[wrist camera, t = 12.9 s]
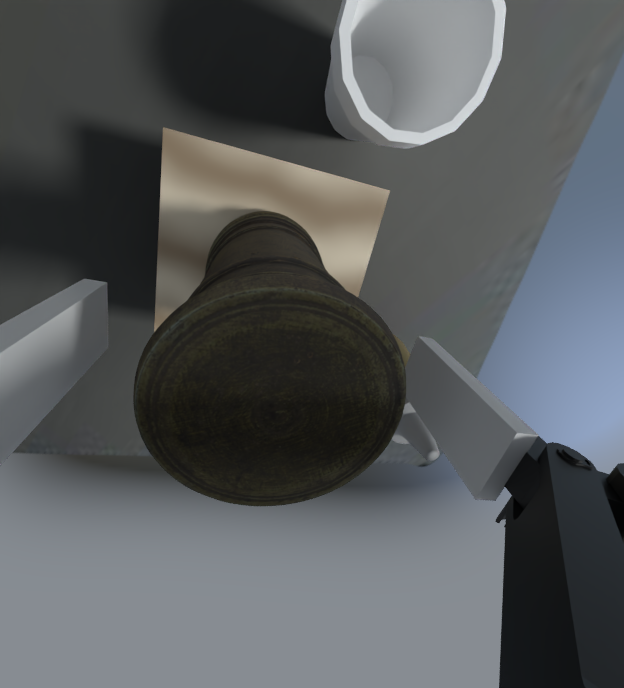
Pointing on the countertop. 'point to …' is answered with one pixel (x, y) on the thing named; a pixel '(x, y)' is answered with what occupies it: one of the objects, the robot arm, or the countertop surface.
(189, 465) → the container
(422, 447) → the squeeze bottle
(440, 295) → the countertop surface
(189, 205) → the beige flat-topped legged fixture
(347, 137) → the foam cup
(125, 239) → the countertop surface
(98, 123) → the countertop surface
